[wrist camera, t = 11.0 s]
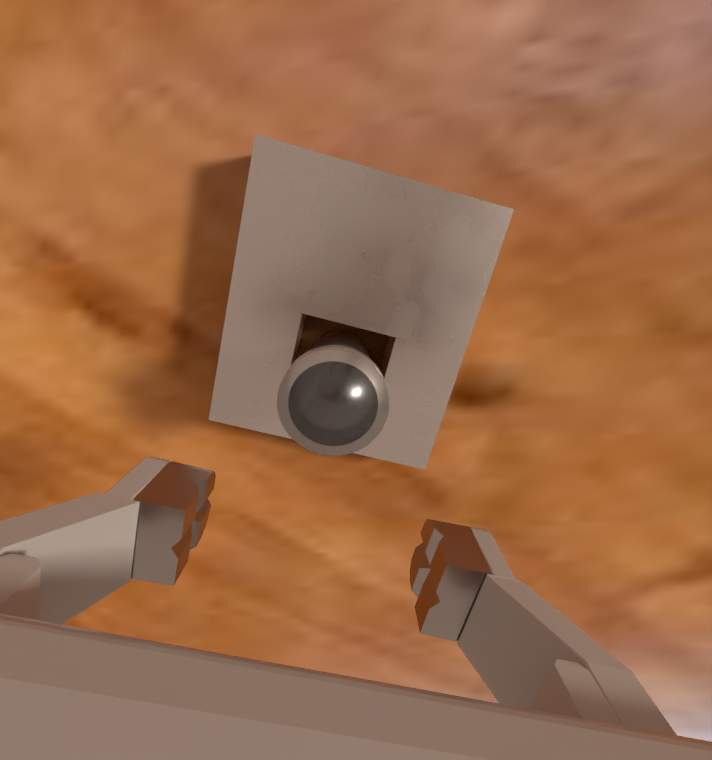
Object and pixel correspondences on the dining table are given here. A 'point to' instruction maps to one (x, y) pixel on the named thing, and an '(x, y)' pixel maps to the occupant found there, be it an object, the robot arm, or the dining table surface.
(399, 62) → the dining table surface
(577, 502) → the dining table surface
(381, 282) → the jig
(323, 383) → the flashlight
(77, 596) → the robot arm
